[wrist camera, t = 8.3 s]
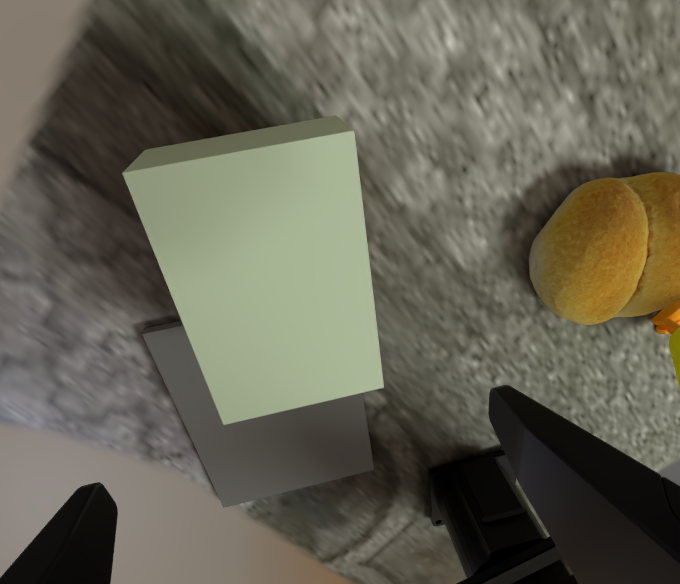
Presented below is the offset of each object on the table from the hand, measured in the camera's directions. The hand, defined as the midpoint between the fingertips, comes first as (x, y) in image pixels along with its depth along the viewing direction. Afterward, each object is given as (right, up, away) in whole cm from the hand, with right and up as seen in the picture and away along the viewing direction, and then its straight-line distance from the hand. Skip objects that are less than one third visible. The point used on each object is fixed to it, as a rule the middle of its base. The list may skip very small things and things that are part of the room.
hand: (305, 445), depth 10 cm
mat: (-3, -3, +15) cm, 16 cm away
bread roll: (+15, +6, +14) cm, 21 cm away
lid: (-2, +5, +7) cm, 9 cm away
